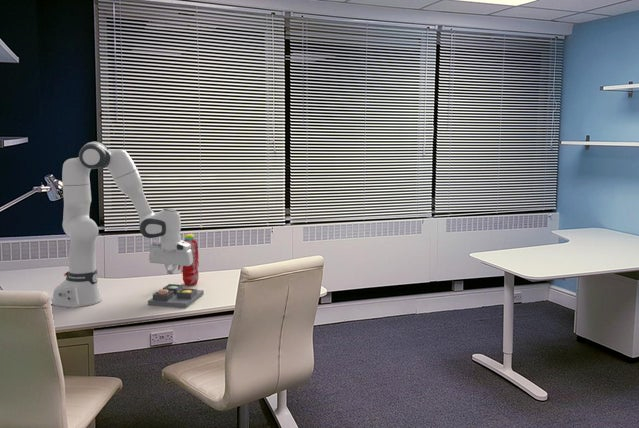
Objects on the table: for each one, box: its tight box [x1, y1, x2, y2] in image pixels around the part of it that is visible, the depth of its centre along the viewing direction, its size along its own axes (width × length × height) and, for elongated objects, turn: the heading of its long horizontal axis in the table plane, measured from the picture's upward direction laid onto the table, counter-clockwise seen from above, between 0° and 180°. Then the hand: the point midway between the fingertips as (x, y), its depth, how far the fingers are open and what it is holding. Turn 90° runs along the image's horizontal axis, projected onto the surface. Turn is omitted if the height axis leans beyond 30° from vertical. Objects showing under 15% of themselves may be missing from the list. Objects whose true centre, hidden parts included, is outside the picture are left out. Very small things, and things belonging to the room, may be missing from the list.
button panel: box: [147, 283, 205, 309], centre depth 268 cm, size 18×20×4 cm
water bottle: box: [177, 233, 200, 286], centre depth 291 cm, size 12×8×25 cm, turn 72°
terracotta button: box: [157, 288, 168, 295], centre depth 263 cm, size 4×4×2 cm
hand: (170, 273), depth 271 cm, fingers closed
